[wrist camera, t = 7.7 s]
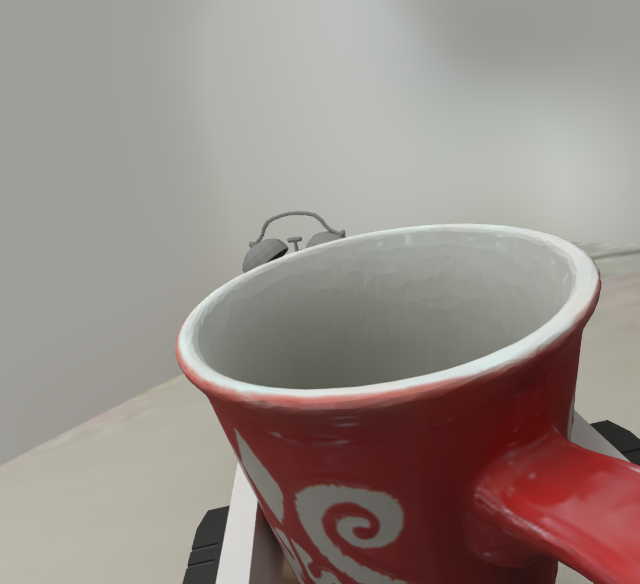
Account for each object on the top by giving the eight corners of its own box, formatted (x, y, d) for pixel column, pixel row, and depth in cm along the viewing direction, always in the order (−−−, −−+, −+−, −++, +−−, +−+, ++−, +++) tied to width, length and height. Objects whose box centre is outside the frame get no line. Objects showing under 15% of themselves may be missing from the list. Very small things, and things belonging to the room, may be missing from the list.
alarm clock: (262, 374, 54) (216, 229, 47) (287, 343, 62) (251, 213, 54) (371, 379, 48) (338, 210, 40) (384, 343, 55) (359, 195, 47)
